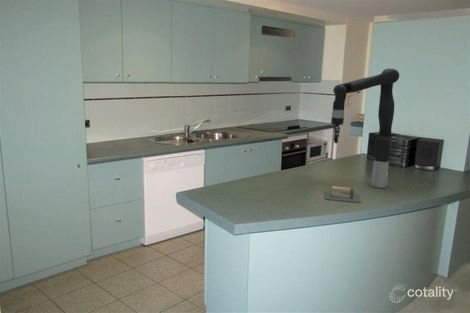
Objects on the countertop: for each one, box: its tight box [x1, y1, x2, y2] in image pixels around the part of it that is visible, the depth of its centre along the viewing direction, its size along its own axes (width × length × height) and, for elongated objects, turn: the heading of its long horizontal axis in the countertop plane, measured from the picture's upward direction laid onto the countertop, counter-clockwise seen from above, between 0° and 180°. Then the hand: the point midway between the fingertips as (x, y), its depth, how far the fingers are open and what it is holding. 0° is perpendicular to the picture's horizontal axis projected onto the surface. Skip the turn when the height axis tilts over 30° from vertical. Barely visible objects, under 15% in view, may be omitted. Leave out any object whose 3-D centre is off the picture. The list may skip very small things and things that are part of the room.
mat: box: [324, 191, 362, 204], centre depth 238 cm, size 20×15×1 cm
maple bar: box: [331, 186, 355, 198], centre depth 238 cm, size 4×12×5 cm, turn 79°
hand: (335, 141), depth 260 cm, fingers open, 8 cm apart
